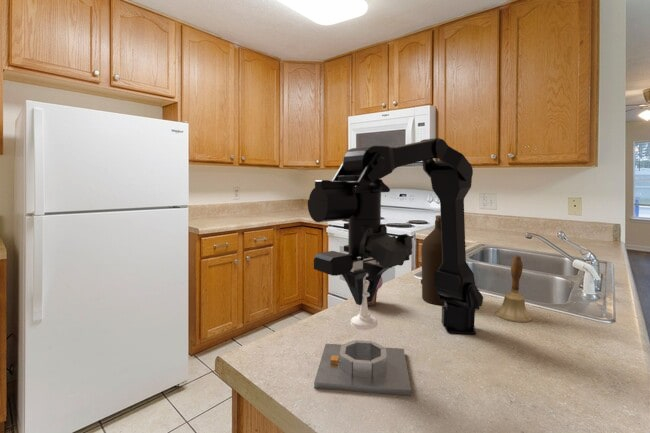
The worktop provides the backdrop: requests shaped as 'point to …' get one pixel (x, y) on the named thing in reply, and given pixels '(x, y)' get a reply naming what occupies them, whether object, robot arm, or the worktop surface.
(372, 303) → the cupcake
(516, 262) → the hand bell
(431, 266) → the olive oil
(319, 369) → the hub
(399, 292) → the worktop surface
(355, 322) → the chess piece
